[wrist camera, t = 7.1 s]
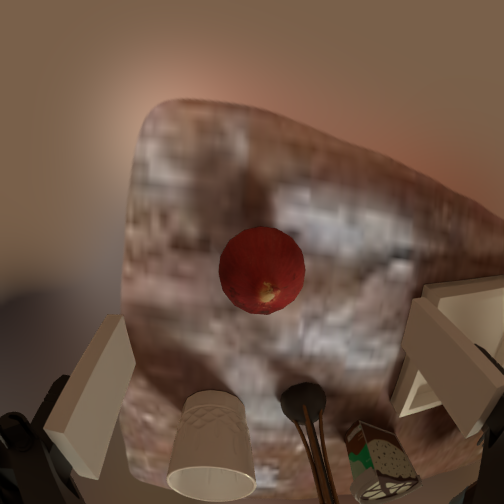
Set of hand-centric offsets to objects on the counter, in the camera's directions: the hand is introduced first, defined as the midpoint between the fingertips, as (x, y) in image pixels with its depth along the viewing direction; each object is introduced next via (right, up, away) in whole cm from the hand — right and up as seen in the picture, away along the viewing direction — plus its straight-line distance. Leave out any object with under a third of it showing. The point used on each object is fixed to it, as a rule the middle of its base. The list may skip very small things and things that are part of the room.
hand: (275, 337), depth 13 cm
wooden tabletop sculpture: (+5, -12, +17) cm, 22 cm away
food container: (+14, -22, +22) cm, 34 cm away
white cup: (-5, -13, +17) cm, 23 cm away
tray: (+25, -7, +17) cm, 30 cm away
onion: (-1, +4, +12) cm, 12 cm away
